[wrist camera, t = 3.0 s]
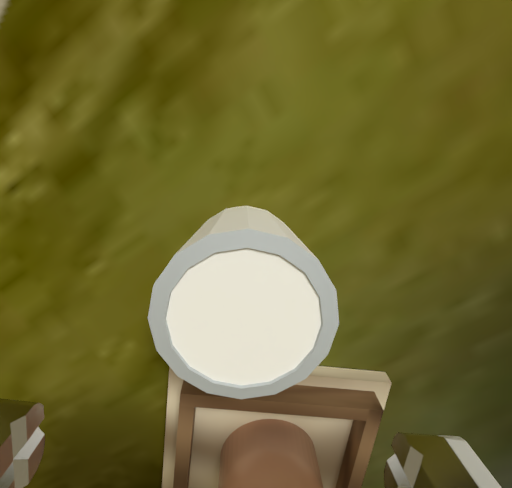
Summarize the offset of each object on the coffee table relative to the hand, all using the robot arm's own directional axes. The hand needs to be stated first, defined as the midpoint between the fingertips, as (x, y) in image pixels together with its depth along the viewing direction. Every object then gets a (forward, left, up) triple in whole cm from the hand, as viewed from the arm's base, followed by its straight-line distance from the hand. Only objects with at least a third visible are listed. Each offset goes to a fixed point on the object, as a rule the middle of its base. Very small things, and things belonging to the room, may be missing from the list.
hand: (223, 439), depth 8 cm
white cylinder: (0, 0, -12) cm, 12 cm away
